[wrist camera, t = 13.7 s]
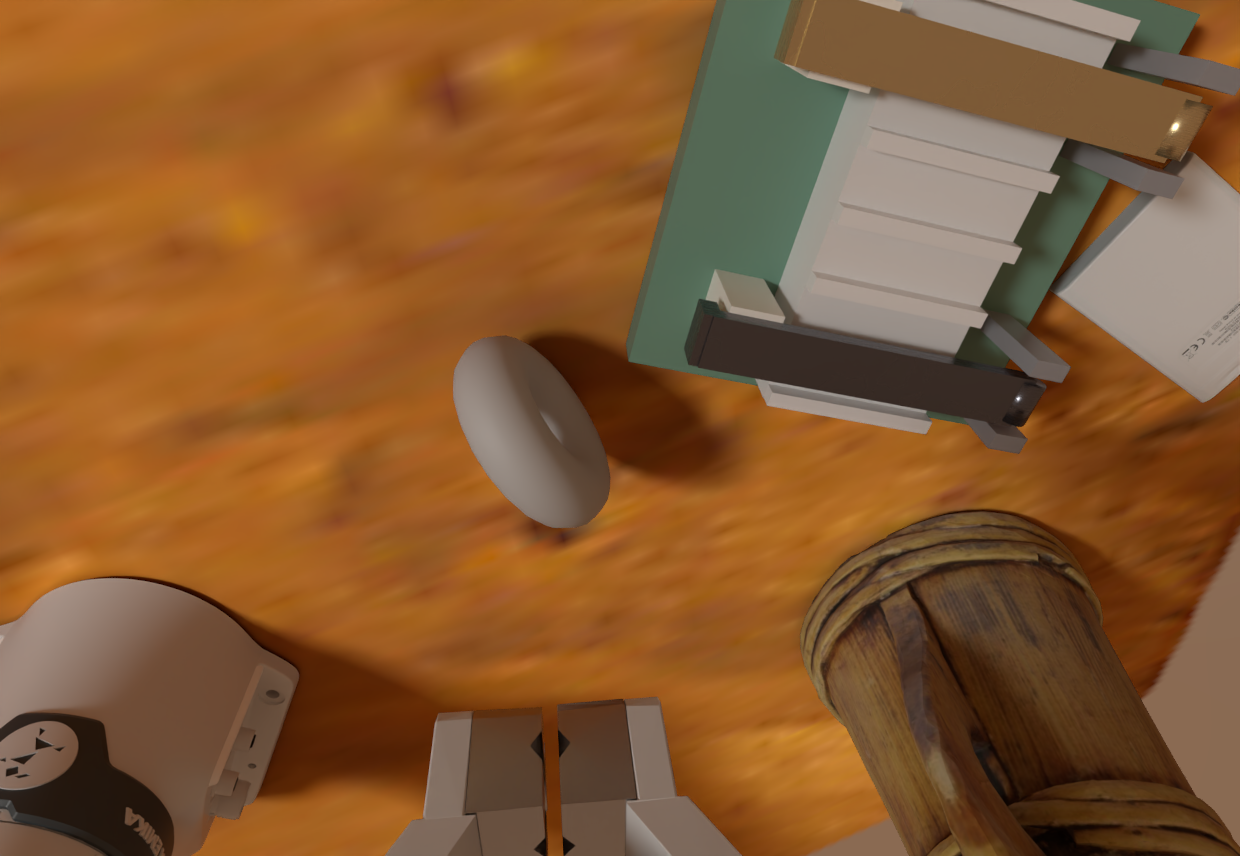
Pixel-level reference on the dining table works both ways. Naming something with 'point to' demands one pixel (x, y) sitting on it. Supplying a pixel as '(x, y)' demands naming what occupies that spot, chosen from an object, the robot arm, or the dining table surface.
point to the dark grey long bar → (858, 367)
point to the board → (778, 170)
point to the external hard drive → (1169, 280)
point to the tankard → (996, 699)
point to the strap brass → (989, 77)
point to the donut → (531, 432)
